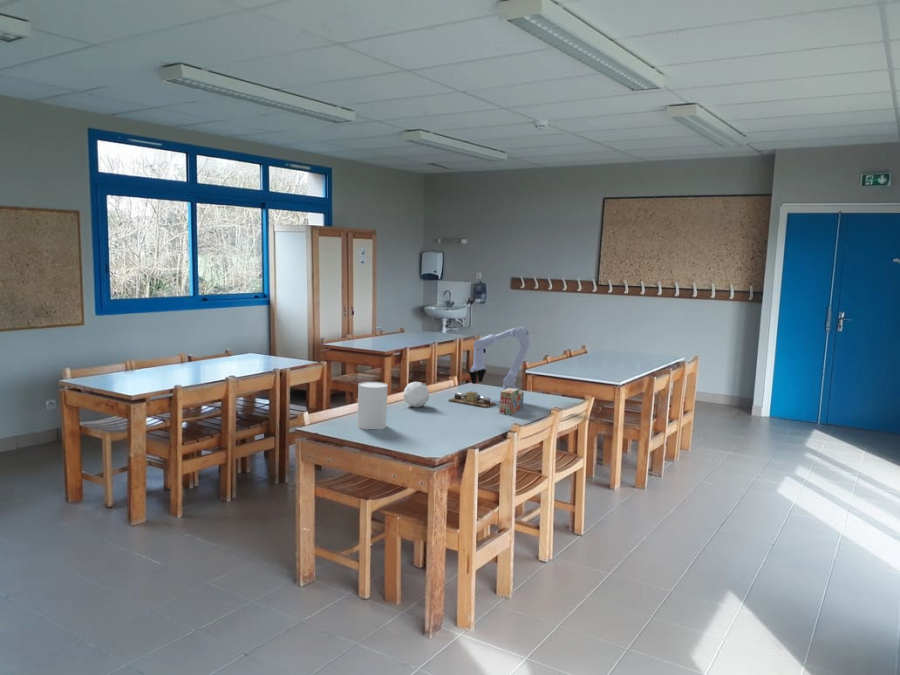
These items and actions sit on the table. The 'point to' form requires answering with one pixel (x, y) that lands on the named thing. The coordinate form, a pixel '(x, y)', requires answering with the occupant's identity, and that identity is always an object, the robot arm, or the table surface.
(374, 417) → the canister
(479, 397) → the shafts
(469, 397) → the wooden block
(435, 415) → the table surface
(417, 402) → the geodesic sphere
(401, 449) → the table surface
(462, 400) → the shaft bench
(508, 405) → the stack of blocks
